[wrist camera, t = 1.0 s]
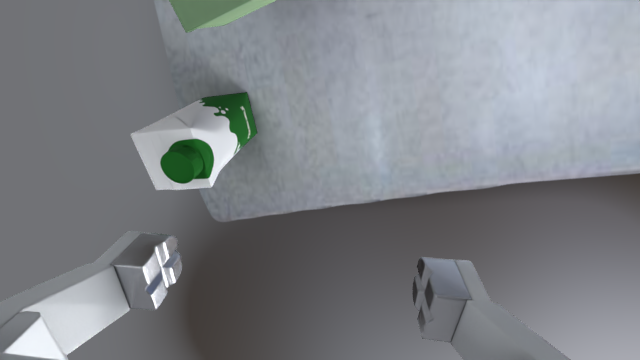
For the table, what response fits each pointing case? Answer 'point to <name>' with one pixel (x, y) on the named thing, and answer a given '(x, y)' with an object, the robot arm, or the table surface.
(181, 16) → the storage box
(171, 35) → the table surface
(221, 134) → the milk carton
